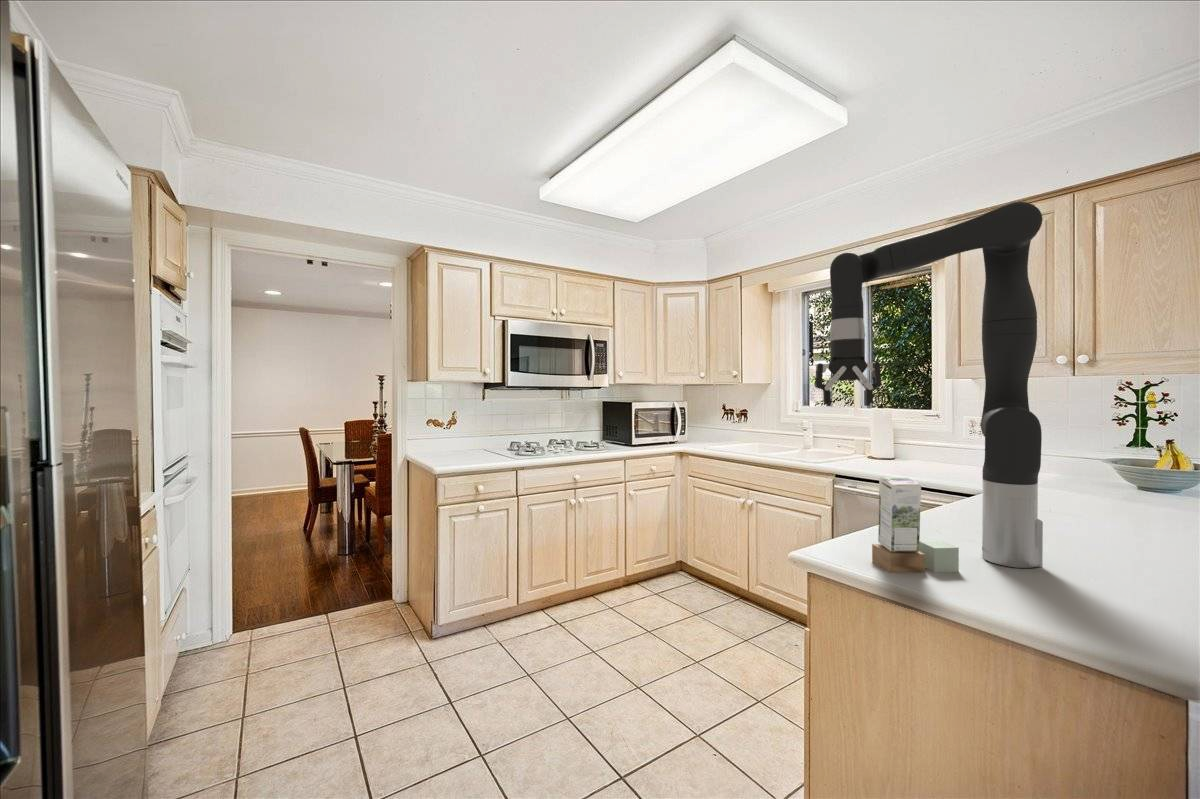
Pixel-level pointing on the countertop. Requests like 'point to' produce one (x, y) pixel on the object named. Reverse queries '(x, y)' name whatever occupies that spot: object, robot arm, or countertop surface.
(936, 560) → the grey-green cube
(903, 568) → the walnut block
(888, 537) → the syrup box
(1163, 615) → the countertop surface
